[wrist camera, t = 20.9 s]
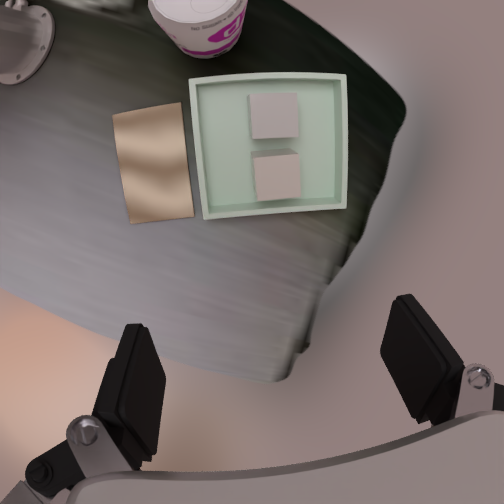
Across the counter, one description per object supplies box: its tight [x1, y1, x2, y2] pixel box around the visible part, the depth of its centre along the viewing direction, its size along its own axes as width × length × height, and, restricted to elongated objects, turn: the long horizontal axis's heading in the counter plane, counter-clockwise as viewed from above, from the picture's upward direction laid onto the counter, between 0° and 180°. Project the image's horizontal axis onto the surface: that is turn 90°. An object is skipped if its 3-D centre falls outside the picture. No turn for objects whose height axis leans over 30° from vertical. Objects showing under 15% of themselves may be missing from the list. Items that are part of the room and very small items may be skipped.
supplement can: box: [148, 0, 248, 59], centre depth 22 cm, size 8×8×15 cm
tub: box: [189, 72, 348, 220], centre depth 35 cm, size 17×18×4 cm
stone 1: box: [247, 93, 299, 139], centre depth 32 cm, size 5×5×5 cm
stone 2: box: [250, 148, 301, 201], centre depth 35 cm, size 5×5×5 cm
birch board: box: [112, 102, 195, 224], centre depth 36 cm, size 15×9×1 cm, turn 4°
